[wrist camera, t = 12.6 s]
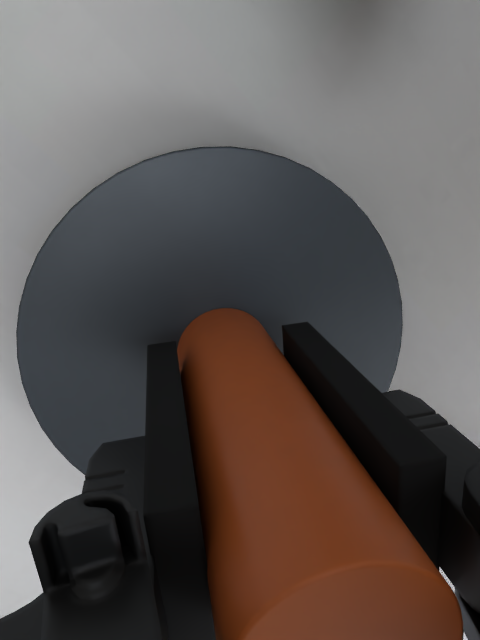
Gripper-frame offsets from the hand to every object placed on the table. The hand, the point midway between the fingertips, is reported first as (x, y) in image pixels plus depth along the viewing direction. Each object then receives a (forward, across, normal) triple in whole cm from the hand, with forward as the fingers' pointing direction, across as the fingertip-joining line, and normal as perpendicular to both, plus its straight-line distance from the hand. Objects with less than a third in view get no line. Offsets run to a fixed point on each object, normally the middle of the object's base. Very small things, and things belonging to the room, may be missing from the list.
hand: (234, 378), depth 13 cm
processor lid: (+3, 0, 0) cm, 3 cm away
